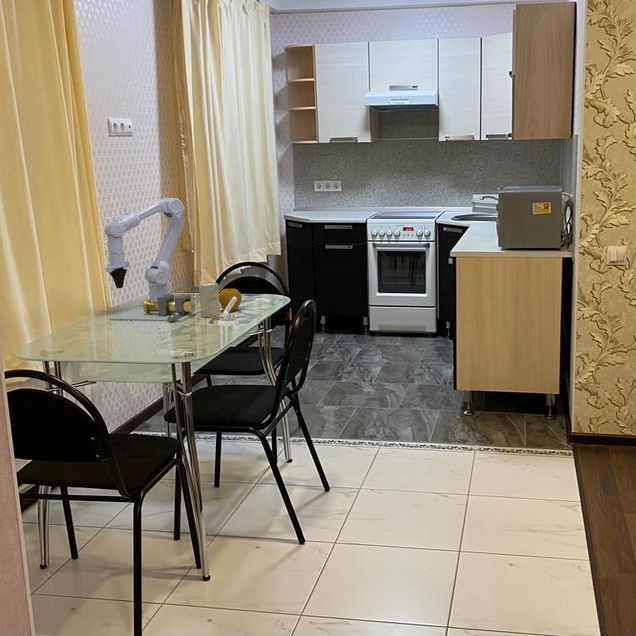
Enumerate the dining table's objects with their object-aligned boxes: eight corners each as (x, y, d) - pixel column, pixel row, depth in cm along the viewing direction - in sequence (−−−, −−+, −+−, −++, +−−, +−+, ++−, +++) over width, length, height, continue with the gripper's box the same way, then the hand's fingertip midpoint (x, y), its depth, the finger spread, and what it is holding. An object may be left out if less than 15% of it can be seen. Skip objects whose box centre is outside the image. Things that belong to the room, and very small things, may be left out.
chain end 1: (176, 308, 324) (175, 290, 322) (183, 308, 323) (182, 290, 321) (158, 316, 310) (157, 298, 308) (166, 316, 309) (164, 298, 307)
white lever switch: (250, 310, 289) (233, 301, 287) (232, 337, 292) (215, 328, 290) (249, 302, 296) (232, 293, 294) (232, 328, 299) (215, 319, 297)
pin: (150, 311, 318) (149, 298, 316) (196, 312, 312) (195, 298, 311) (144, 314, 313) (142, 300, 312) (190, 315, 307) (189, 301, 306)
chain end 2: (184, 312, 315) (183, 294, 313) (191, 312, 314) (190, 294, 312) (166, 320, 301) (165, 302, 299) (174, 321, 300) (172, 302, 299)
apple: (245, 308, 320) (243, 286, 318) (237, 313, 312) (236, 290, 310) (224, 308, 322) (222, 286, 320) (216, 313, 314) (214, 290, 312)
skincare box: (209, 318, 305) (206, 285, 303) (200, 317, 308) (198, 285, 305) (221, 315, 310) (218, 283, 307) (212, 314, 313) (210, 282, 310)
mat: (133, 310, 327) (132, 308, 327) (202, 311, 318) (202, 309, 318) (109, 320, 310) (109, 318, 310) (182, 321, 302) (181, 319, 301)
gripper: (116, 250, 326) (120, 284, 329) (97, 255, 312) (100, 291, 315) (132, 250, 324) (135, 284, 327) (113, 255, 310) (117, 291, 313)
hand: (119, 288), depth 321 cm, fingers closed
